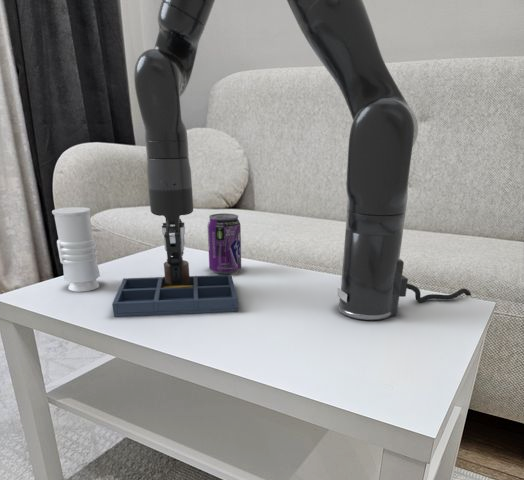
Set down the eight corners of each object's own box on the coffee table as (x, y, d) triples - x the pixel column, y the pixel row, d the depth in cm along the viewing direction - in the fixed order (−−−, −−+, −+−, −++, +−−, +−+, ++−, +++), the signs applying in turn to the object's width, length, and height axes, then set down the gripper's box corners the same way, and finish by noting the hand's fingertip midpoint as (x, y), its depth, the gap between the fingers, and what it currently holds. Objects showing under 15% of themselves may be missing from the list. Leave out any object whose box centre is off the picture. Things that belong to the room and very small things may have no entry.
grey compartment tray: (231, 286, 96) (231, 274, 95) (237, 311, 83) (237, 298, 82) (124, 290, 94) (123, 278, 93) (113, 316, 81) (112, 303, 80)
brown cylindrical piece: (189, 277, 93) (188, 259, 91) (189, 284, 89) (188, 266, 87) (165, 277, 92) (164, 260, 91) (164, 285, 88) (163, 266, 86)
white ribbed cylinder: (61, 285, 96) (46, 209, 89) (95, 279, 100) (83, 206, 93) (71, 294, 91) (57, 214, 84) (106, 288, 95) (95, 210, 88)
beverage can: (226, 277, 102) (225, 220, 96) (202, 271, 105) (199, 216, 100) (247, 269, 107) (247, 215, 101) (224, 264, 110) (222, 211, 105)
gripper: (191, 190, 77) (198, 290, 84) (191, 180, 90) (197, 268, 97) (144, 191, 76) (155, 292, 83) (151, 181, 89) (159, 270, 96)
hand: (177, 279), depth 90 cm, fingers closed on brown cylindrical piece, 4 cm apart
